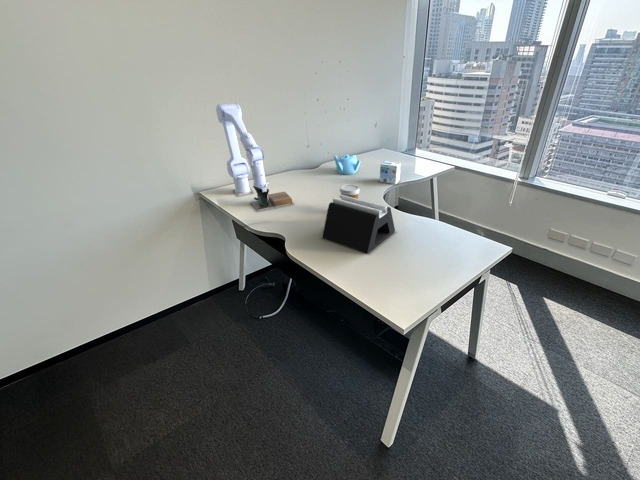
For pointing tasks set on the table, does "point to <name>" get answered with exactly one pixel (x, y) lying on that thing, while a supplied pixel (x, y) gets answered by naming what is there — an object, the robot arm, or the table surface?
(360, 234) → the device stand
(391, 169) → the light bulb box
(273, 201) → the tier stand
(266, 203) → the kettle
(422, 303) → the table surface
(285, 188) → the table surface
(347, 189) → the disposable coffee cup
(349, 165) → the teapot
